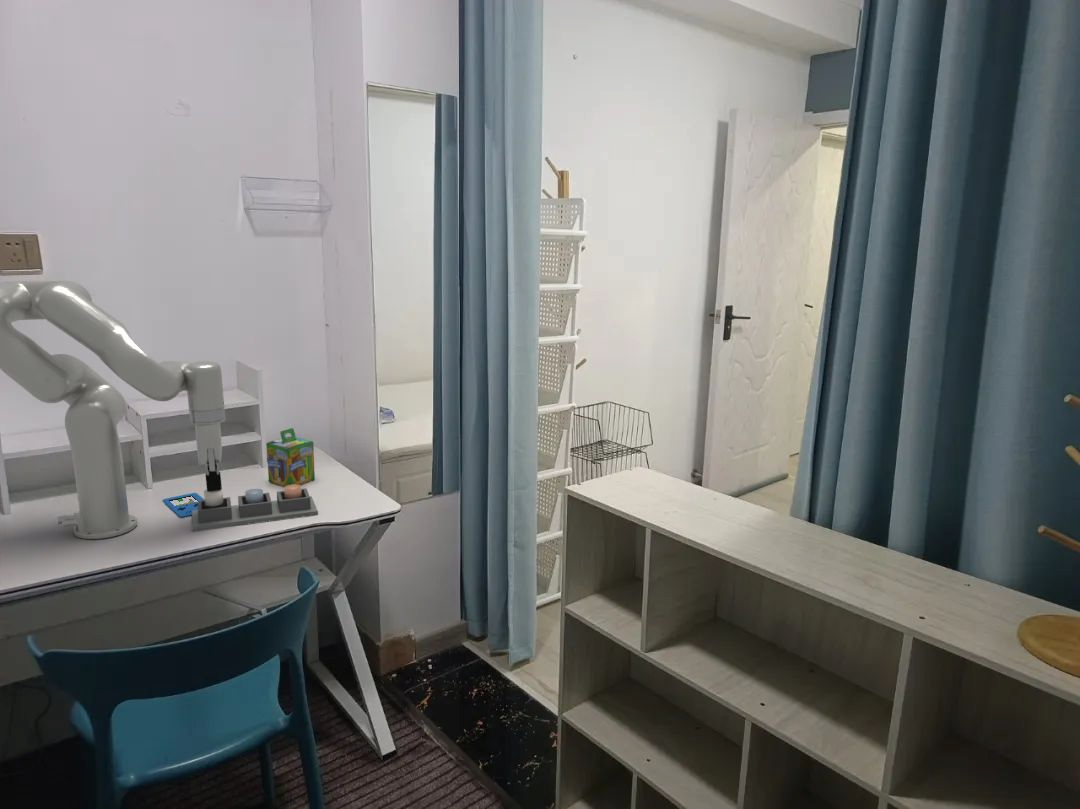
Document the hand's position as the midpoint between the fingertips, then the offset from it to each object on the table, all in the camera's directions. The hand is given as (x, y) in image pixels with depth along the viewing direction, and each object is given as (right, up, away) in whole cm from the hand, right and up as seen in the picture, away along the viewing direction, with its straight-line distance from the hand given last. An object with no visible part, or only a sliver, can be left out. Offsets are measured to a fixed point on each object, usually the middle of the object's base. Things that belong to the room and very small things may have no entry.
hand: (214, 489), depth 172 cm
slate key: (+8, -4, +5) cm, 10 cm away
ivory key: (0, -3, +1) cm, 4 cm away
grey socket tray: (+8, -7, +5) cm, 12 cm away
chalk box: (+8, -1, +29) cm, 31 cm away
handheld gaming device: (-11, -6, +10) cm, 16 cm away
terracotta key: (+16, -3, +9) cm, 18 cm away
